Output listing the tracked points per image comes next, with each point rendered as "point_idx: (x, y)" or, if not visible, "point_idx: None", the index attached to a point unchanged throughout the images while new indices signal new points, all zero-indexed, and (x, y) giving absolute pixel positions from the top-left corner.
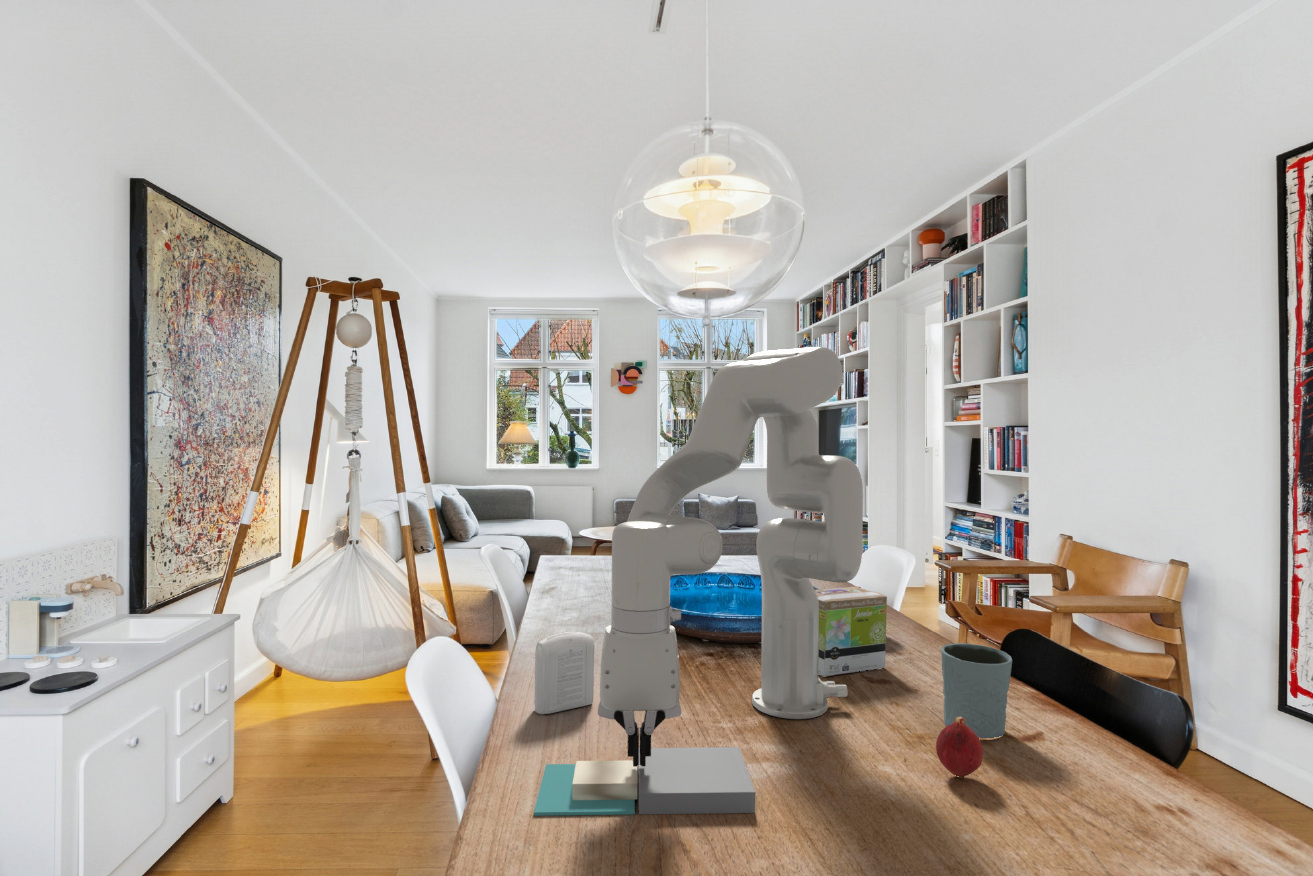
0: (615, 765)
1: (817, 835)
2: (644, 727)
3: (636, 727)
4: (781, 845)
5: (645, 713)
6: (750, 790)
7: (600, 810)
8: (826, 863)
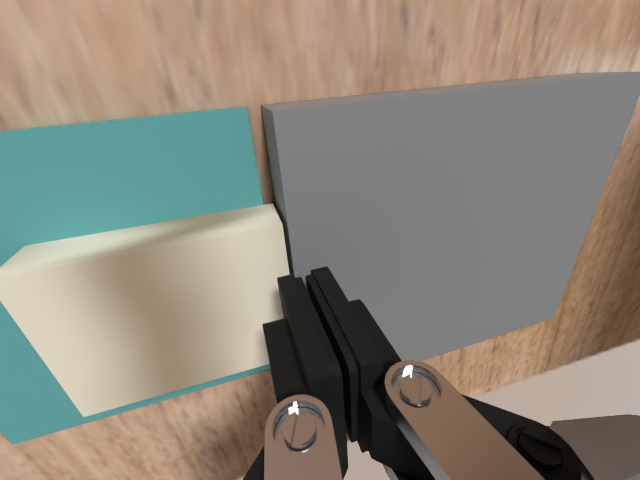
0: (202, 280)
1: (570, 322)
2: (391, 475)
3: (345, 473)
4: (514, 356)
5: (433, 474)
6: (549, 315)
7: (205, 385)
8: (546, 370)
